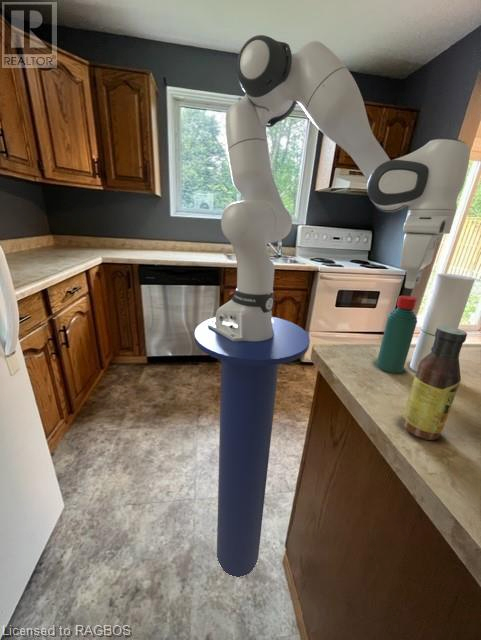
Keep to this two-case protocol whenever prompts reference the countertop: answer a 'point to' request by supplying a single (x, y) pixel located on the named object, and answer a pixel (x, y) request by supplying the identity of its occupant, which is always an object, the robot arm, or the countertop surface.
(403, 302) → the cap
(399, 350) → the water bottle
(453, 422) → the countertop surface
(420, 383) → the sauce bottle
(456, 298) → the cylindrical container
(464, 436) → the countertop surface
